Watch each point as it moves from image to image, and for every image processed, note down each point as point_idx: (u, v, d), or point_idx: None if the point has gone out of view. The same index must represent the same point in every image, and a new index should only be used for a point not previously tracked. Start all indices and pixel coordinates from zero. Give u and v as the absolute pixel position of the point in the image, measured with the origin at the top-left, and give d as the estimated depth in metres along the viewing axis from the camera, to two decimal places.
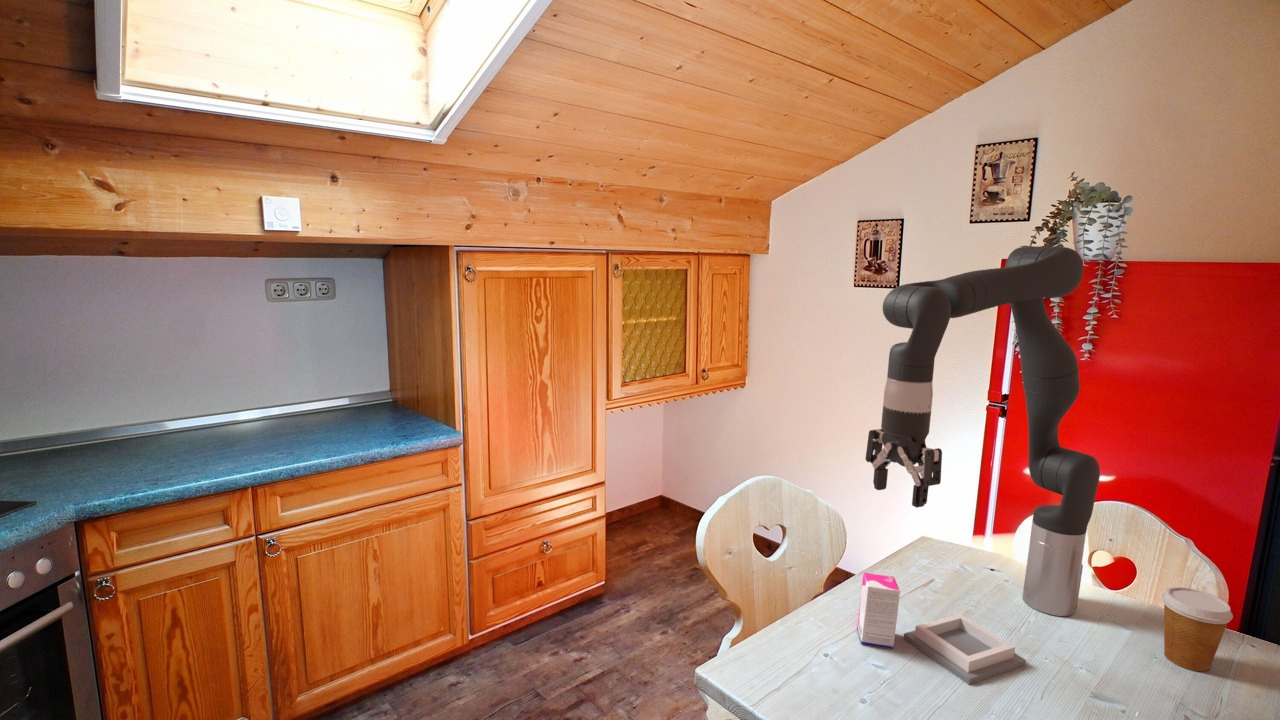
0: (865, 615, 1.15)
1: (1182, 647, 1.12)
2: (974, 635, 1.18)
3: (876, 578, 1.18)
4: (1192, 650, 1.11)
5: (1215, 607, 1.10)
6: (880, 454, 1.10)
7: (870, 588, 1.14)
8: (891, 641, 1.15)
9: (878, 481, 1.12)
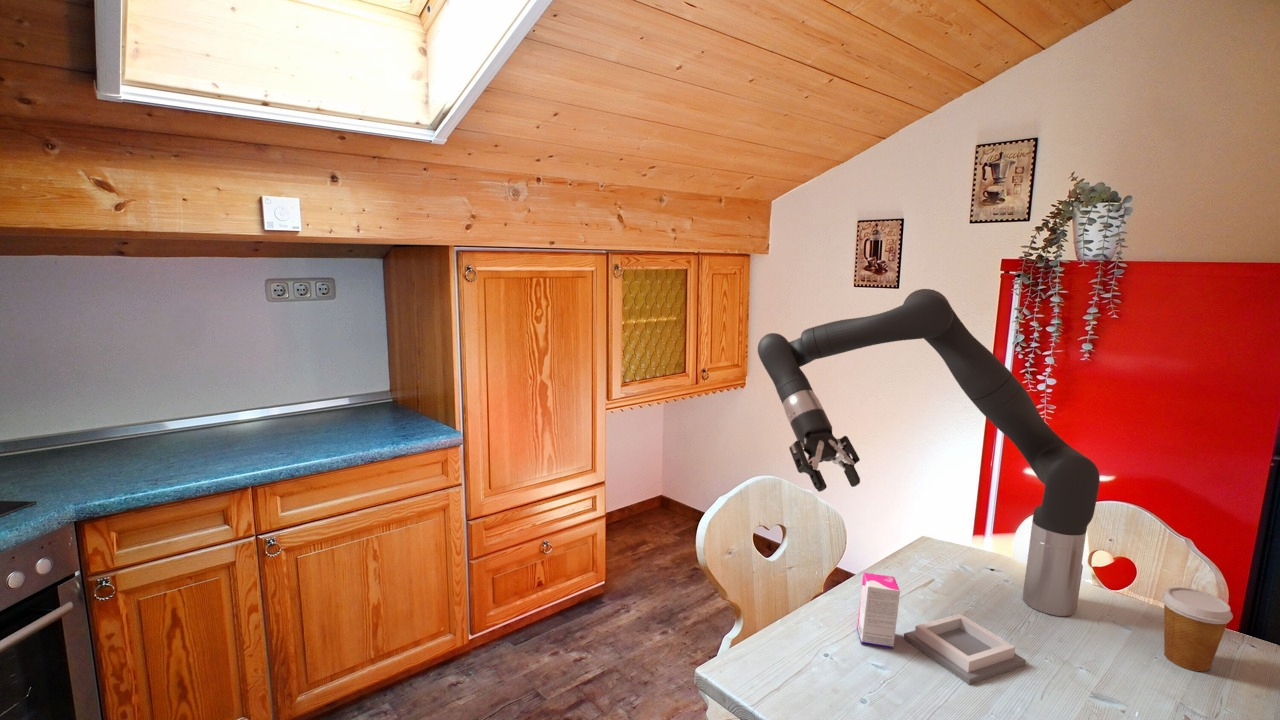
0: (865, 615, 1.15)
1: (1182, 647, 1.12)
2: (974, 635, 1.18)
3: (876, 578, 1.18)
4: (1192, 650, 1.11)
5: (1215, 607, 1.10)
6: (832, 458, 1.31)
7: (870, 588, 1.14)
8: (891, 641, 1.15)
9: (848, 479, 1.28)
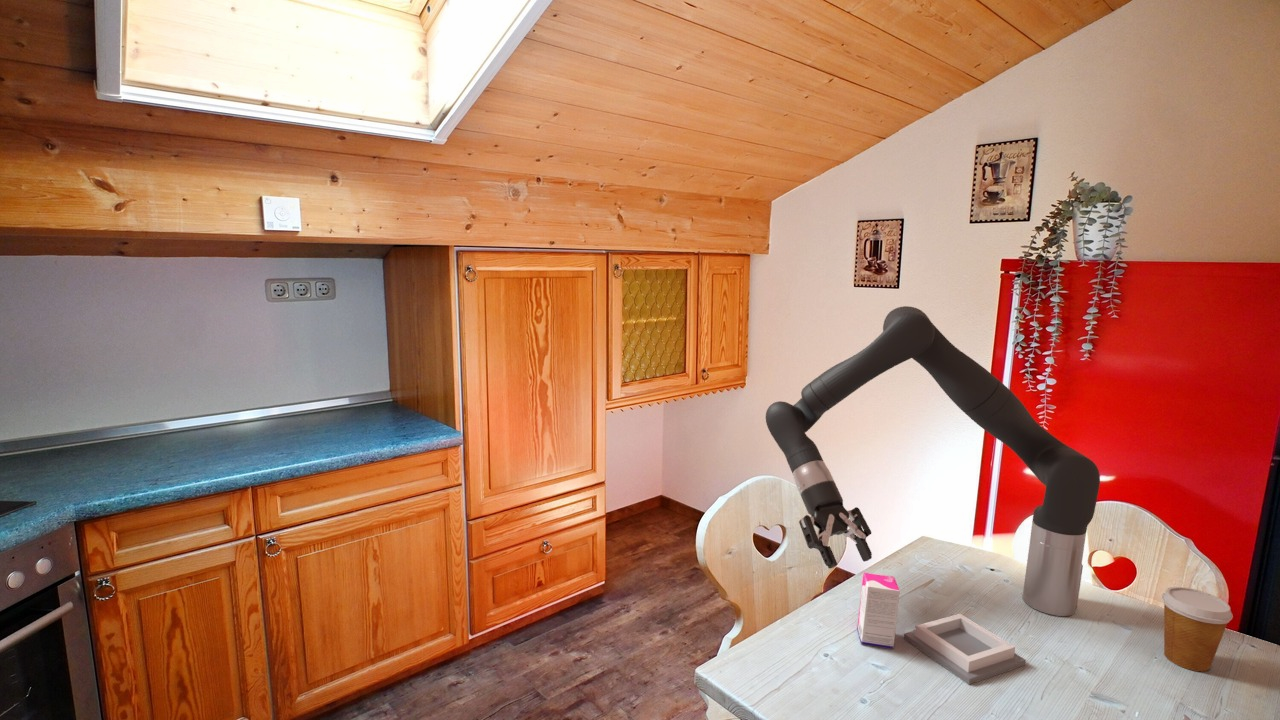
0: (865, 615, 1.15)
1: (1182, 647, 1.12)
2: (974, 635, 1.18)
3: (876, 578, 1.18)
4: (1192, 650, 1.11)
5: (1215, 607, 1.10)
6: None
7: (870, 588, 1.14)
8: (891, 641, 1.15)
9: (860, 553, 1.27)
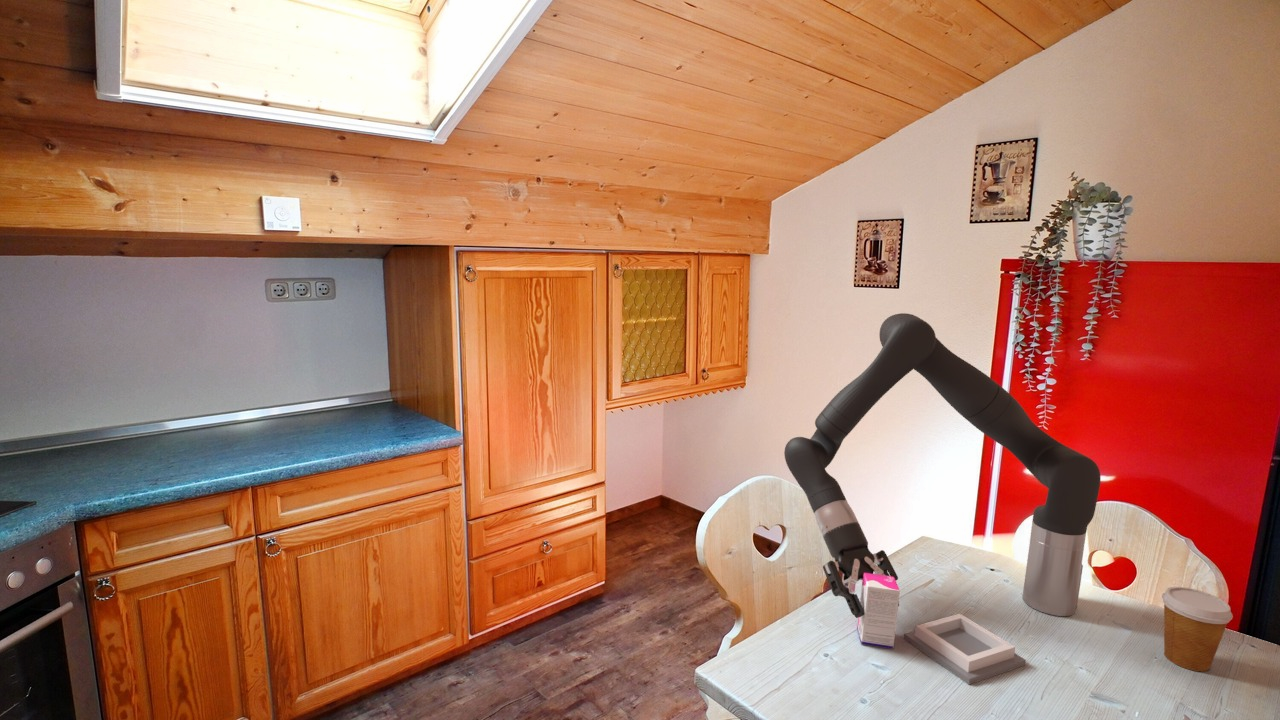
0: (865, 615, 1.15)
1: (1182, 647, 1.12)
2: (974, 635, 1.18)
3: (876, 578, 1.18)
4: (1192, 650, 1.11)
5: (1215, 607, 1.10)
6: None
7: (870, 588, 1.14)
8: (891, 640, 1.15)
9: None
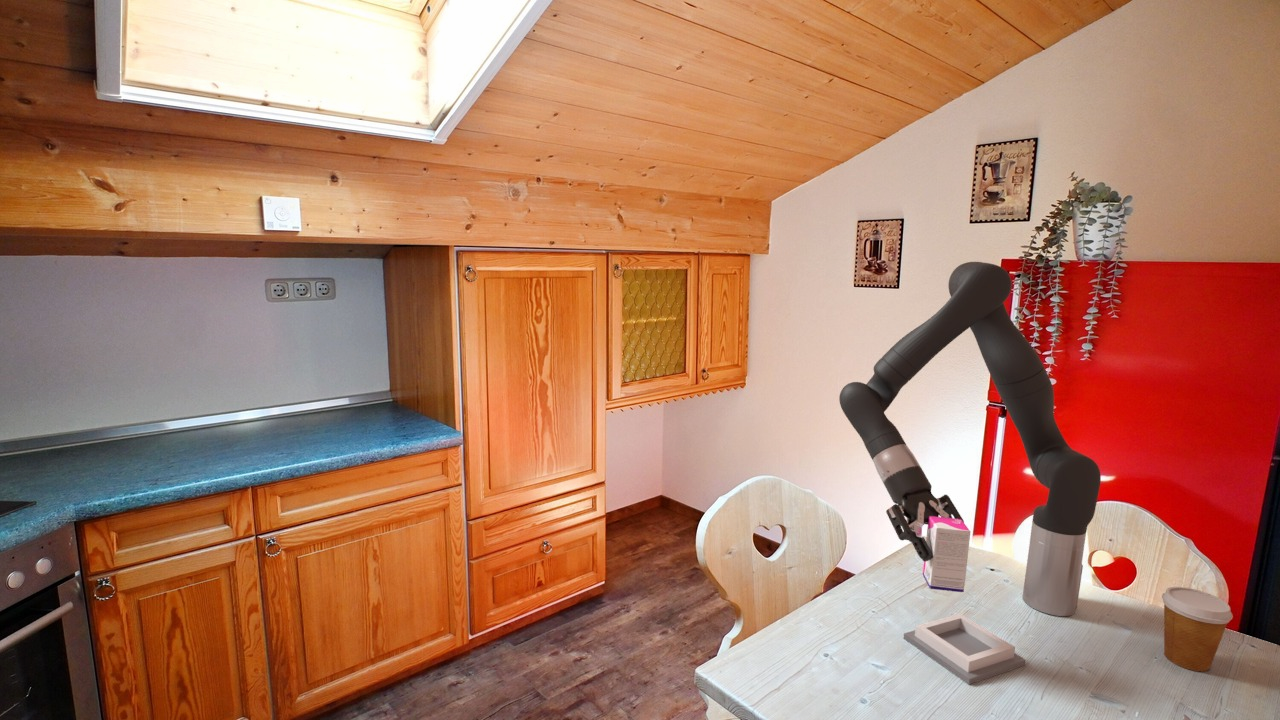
0: (934, 558, 1.11)
1: (1182, 647, 1.12)
2: (974, 635, 1.18)
3: (943, 520, 1.13)
4: (1192, 650, 1.11)
5: (1215, 607, 1.10)
6: None
7: (939, 529, 1.10)
8: (961, 584, 1.11)
9: None
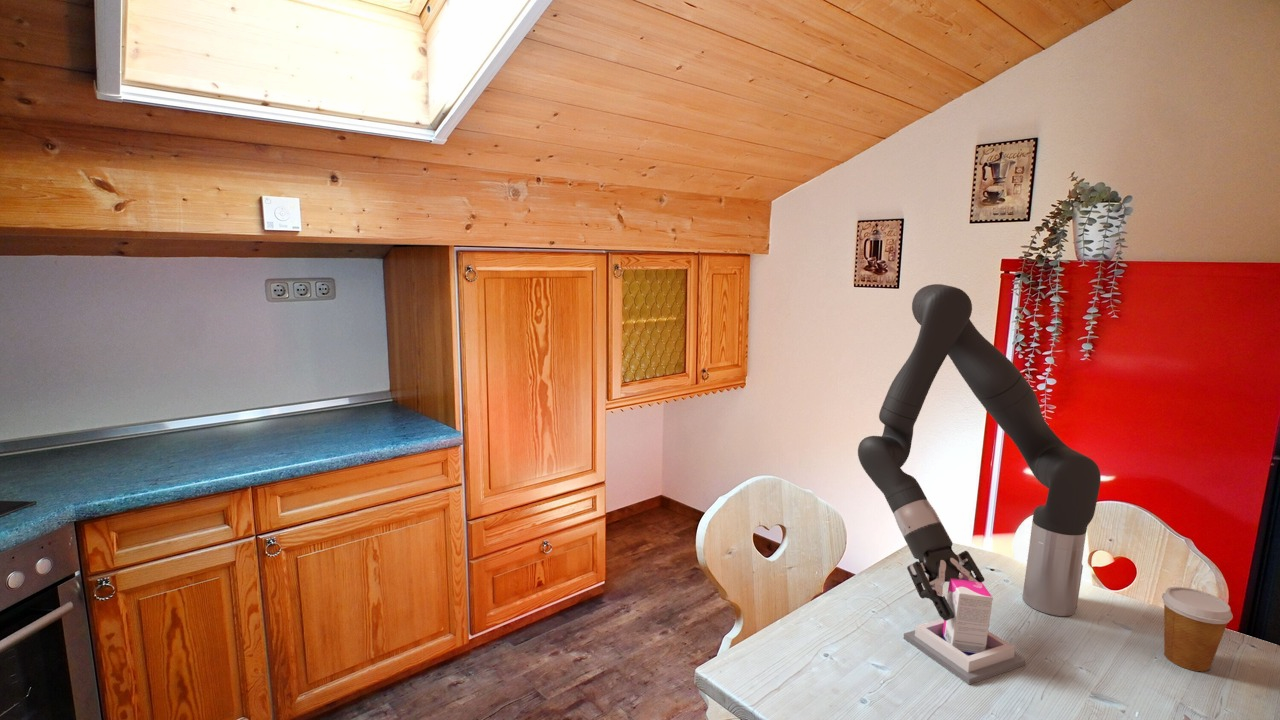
0: (956, 622, 1.12)
1: (1182, 647, 1.12)
2: None
3: (965, 584, 1.14)
4: (1192, 650, 1.11)
5: (1215, 607, 1.10)
6: None
7: (962, 595, 1.11)
8: (982, 648, 1.12)
9: None
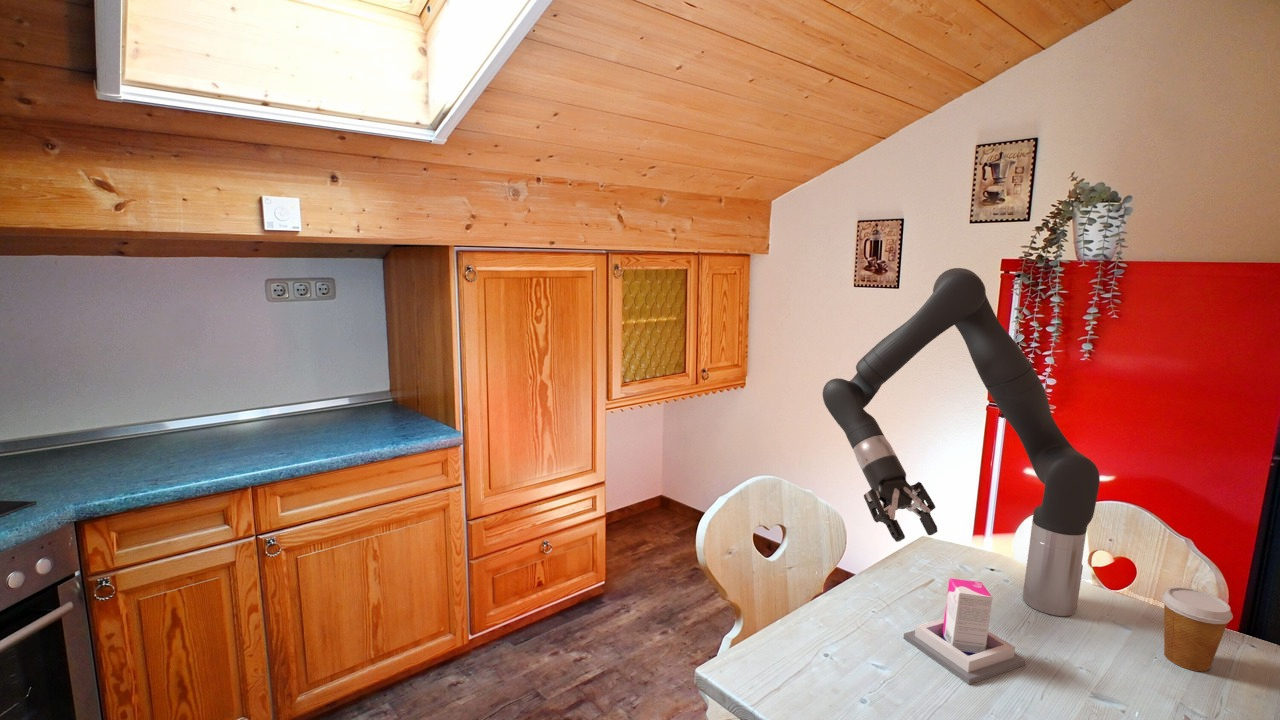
0: (956, 622, 1.12)
1: (1182, 647, 1.12)
2: None
3: (964, 584, 1.14)
4: (1192, 650, 1.11)
5: (1215, 607, 1.10)
6: None
7: (962, 594, 1.11)
8: (982, 648, 1.12)
9: (925, 527, 1.26)
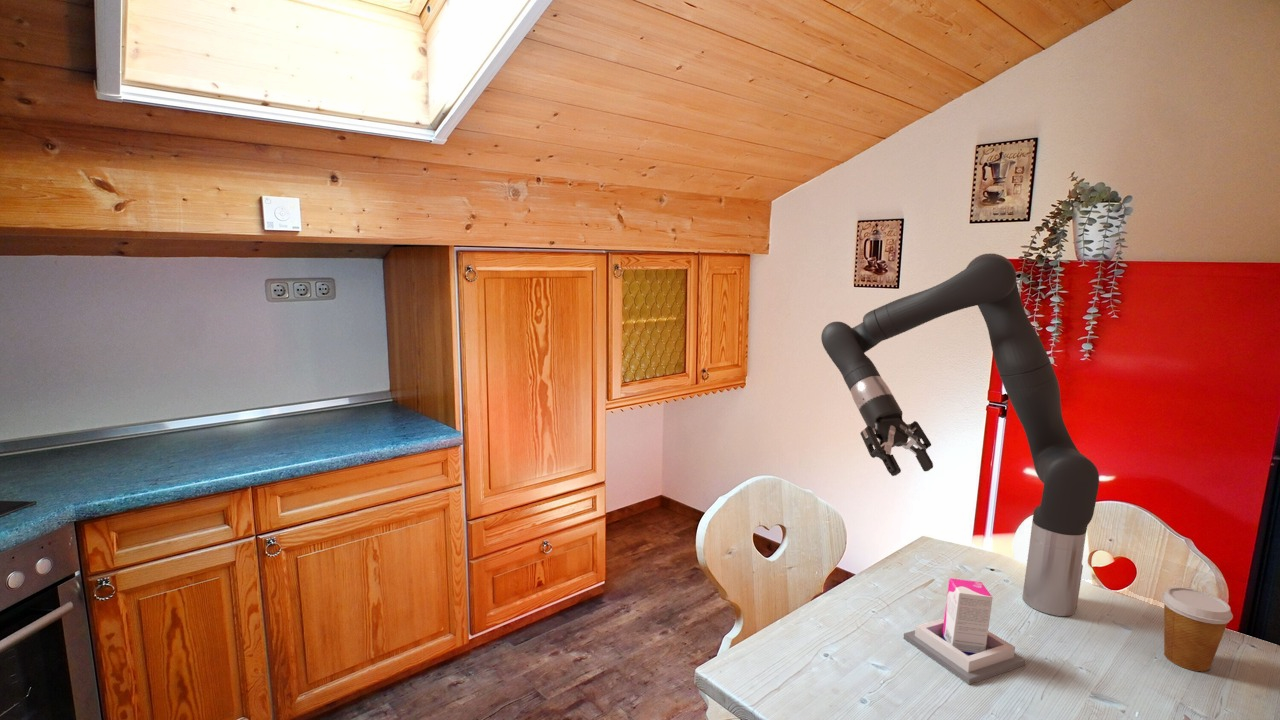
0: (956, 622, 1.12)
1: (1182, 647, 1.12)
2: None
3: (964, 584, 1.14)
4: (1192, 650, 1.11)
5: (1215, 607, 1.10)
6: None
7: (962, 594, 1.11)
8: (982, 648, 1.12)
9: (921, 464, 1.28)
